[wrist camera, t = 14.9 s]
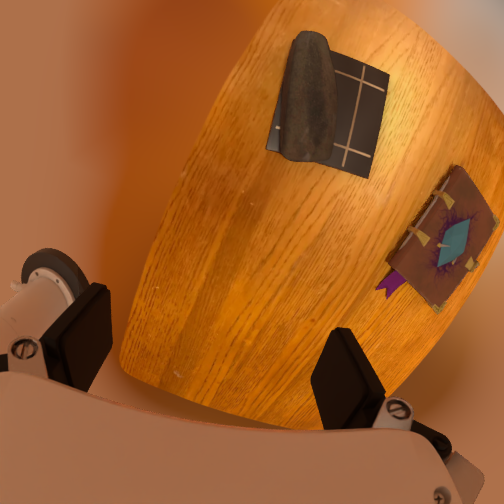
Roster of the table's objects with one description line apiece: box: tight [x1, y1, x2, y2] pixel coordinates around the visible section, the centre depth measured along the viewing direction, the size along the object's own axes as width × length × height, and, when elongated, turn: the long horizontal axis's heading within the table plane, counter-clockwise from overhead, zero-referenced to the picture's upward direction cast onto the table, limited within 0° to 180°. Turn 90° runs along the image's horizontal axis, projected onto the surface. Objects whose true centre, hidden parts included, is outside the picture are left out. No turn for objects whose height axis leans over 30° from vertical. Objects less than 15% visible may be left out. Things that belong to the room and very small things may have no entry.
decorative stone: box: [280, 31, 338, 162], centre depth 28 cm, size 17×6×4 cm, turn 178°
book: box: [376, 165, 500, 315], centre depth 37 cm, size 16×25×5 cm, turn 144°
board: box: [266, 39, 390, 179], centre depth 31 cm, size 14×16×1 cm
